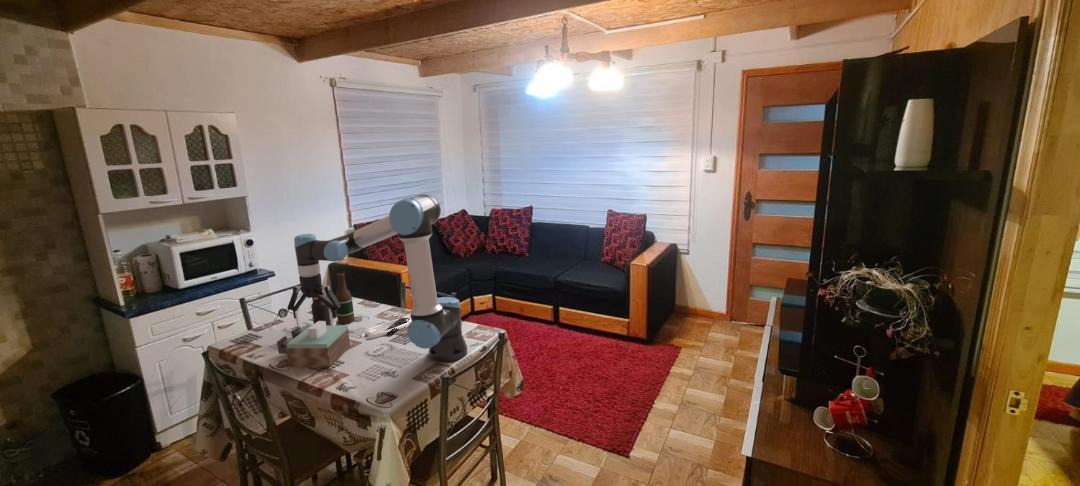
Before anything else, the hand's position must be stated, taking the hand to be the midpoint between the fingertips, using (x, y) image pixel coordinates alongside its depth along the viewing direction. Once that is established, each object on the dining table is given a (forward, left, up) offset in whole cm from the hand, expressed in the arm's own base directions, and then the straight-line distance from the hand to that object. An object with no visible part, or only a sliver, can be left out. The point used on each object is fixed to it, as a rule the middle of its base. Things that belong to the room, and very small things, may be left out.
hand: (316, 325), depth 185 cm
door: (+1, 0, -5) cm, 5 cm away
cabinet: (+2, 0, -13) cm, 13 cm away
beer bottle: (+6, -37, -13) cm, 39 cm away
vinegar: (+9, -21, -13) cm, 26 cm away
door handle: (-18, -27, -14) cm, 35 cm away
